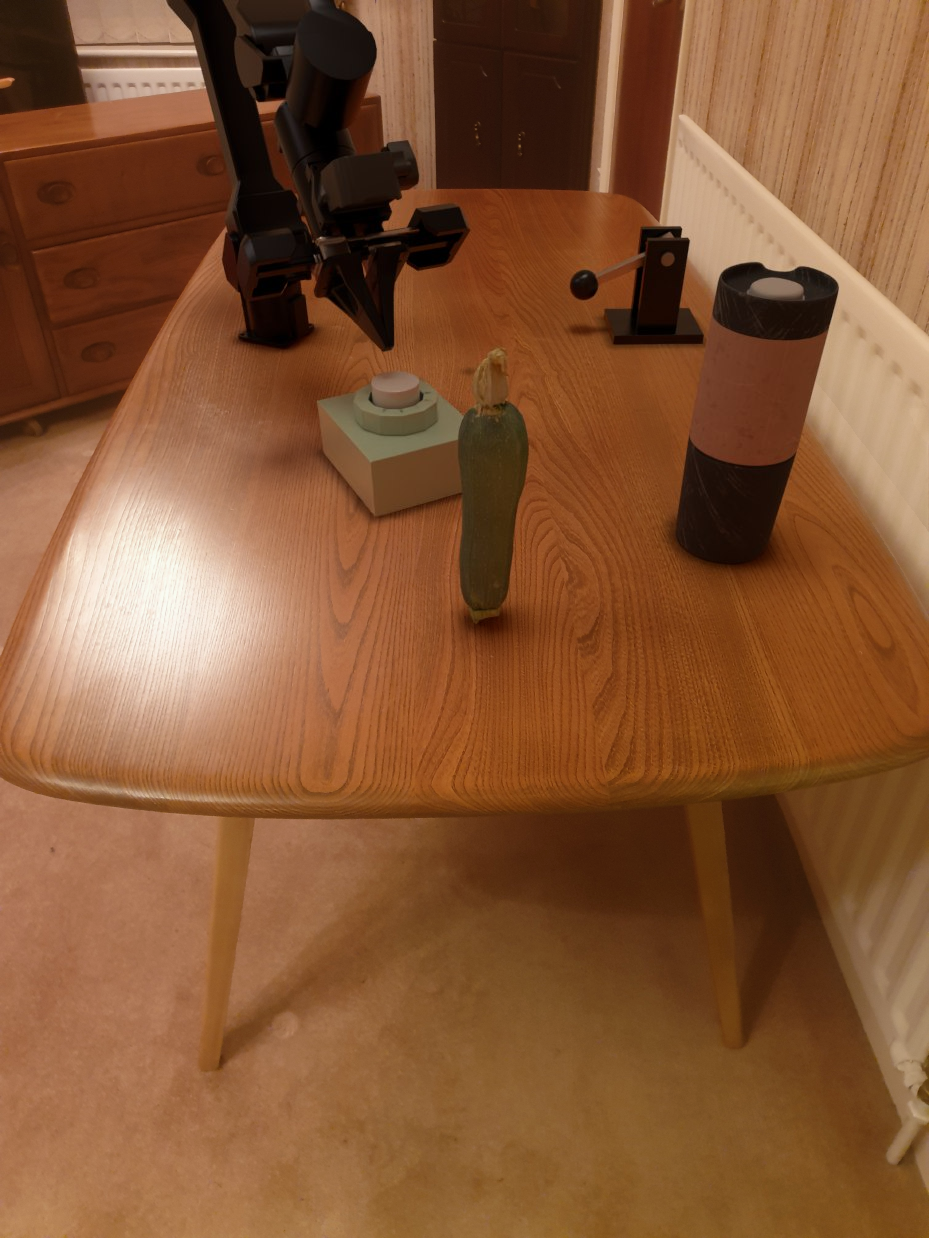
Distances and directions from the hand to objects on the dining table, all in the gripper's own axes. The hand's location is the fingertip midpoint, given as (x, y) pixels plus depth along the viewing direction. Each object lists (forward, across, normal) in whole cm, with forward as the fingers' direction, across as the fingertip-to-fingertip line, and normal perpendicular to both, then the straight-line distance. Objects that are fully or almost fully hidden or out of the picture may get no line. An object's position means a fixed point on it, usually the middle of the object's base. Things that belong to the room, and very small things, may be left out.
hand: (388, 349), depth 70 cm
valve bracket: (-2, +38, +17) cm, 42 cm away
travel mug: (+24, +18, -8) cm, 31 cm away
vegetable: (+23, -3, -8) cm, 25 cm away
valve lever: (-7, +35, +14) cm, 39 cm away
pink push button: (+4, 0, +2) cm, 4 cm away
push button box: (+8, 0, +7) cm, 11 cm away
